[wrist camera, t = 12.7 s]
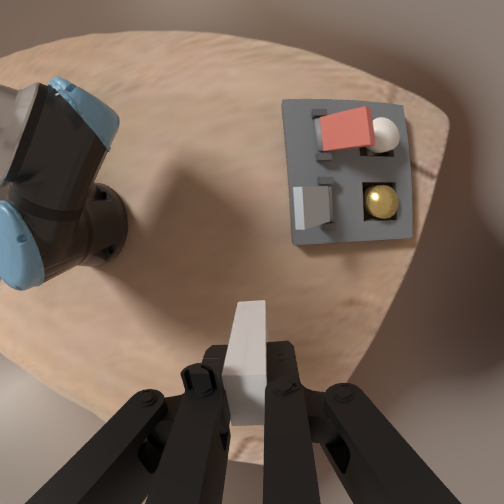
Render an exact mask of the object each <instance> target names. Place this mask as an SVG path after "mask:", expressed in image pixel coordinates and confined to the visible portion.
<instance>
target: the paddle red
mask: <svg viewBox="0 0 504 504" xmlns="http://www.w3.org/2000/svg"><path fill="white" fill-rule="evenodd" d="M314 122H315V131H316V140H317V151H318V152H326V151H336V150H343V149H350V148H358V147H367V146H375V136H374V128H373V120H372V113H371V108H369V107H367V106H363V107H359V108H355V109H350V110H346V111H342V112H338V113H334V114H331V115H327V116H323V117H320V118H317V119H314Z"/></svg>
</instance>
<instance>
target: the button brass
mask: <svg viewBox="0 0 504 504" xmlns="http://www.w3.org/2000/svg"><path fill="white" fill-rule="evenodd" d="M363 208H364V210H365V211H366V212H367V213H368V214H369V215H371V216H375V217H378V218H382V219H386V218H390V217H391V216H393V215H394V214H395V212H396V211H397V208H398V196H397V194H396V192H395V191H394V190H393V189H392V188H391V187H389V186H386V185H373V186H370V187H368V188H367V189H366V190H365V191H364V193H363Z"/></svg>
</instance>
